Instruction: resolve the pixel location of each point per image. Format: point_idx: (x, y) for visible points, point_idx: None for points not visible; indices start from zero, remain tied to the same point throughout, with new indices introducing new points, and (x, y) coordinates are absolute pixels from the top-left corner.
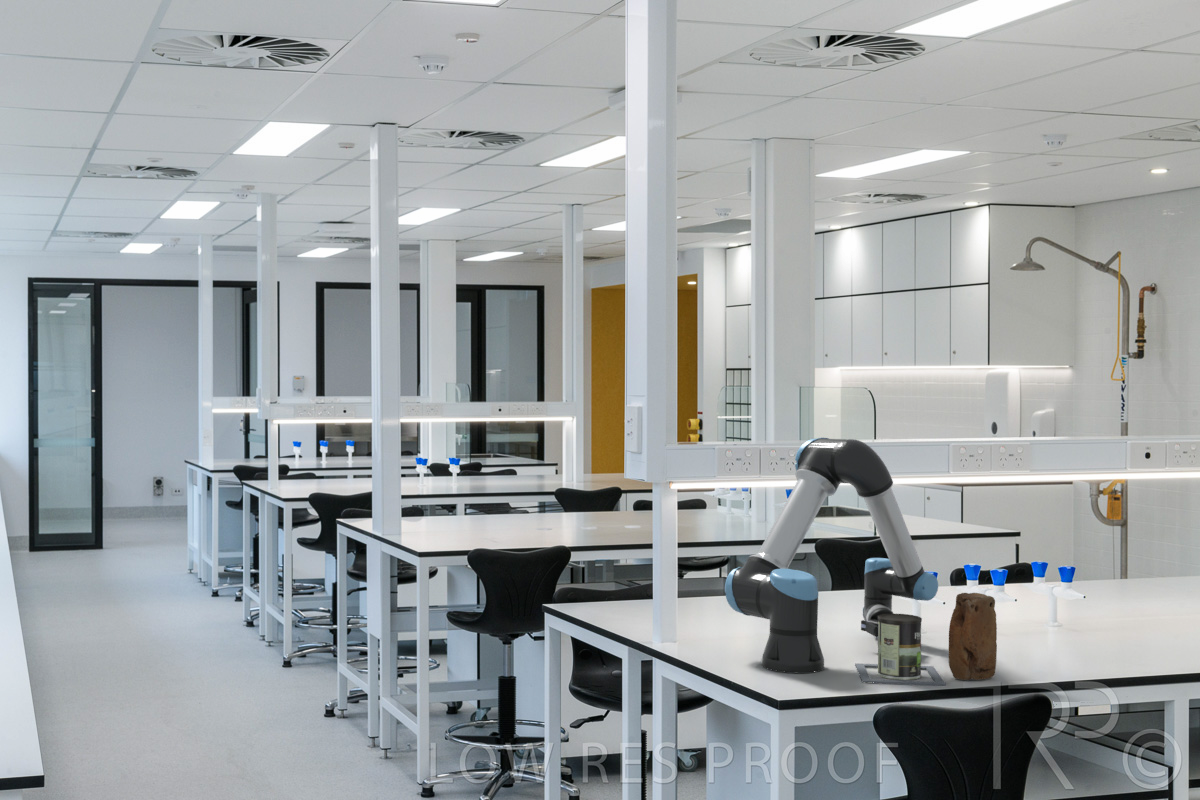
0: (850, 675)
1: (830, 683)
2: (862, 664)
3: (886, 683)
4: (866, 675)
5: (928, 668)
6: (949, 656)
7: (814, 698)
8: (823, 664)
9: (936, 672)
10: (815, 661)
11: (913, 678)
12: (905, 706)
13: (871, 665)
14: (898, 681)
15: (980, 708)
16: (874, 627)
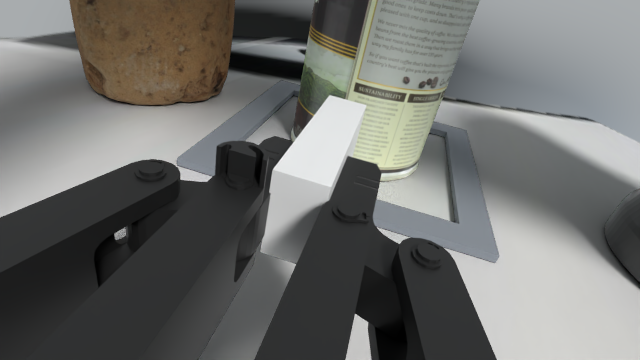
0: (499, 177)
1: (538, 149)
2: (466, 234)
3: None
4: (455, 149)
5: None
6: (231, 39)
7: (543, 113)
8: (614, 222)
9: (233, 120)
10: (638, 189)
11: None
12: None
13: (429, 216)
14: None
15: (298, 44)
16: (454, 269)
